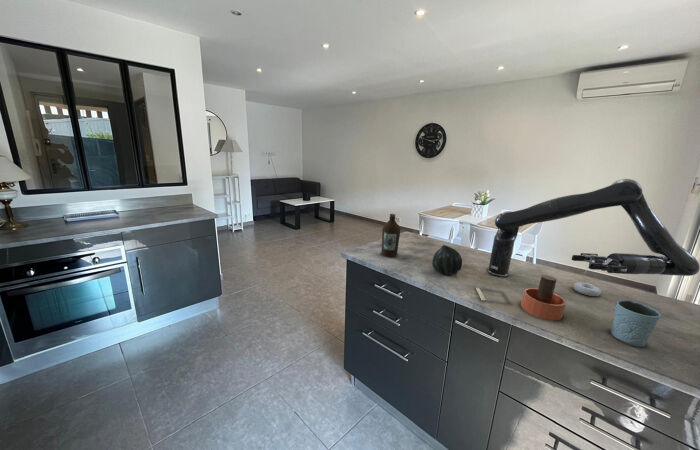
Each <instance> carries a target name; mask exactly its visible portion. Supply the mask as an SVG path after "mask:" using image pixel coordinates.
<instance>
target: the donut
mask: <svg viewBox="0 0 700 450" xmlns="http://www.w3.org/2000/svg"><path fill="white" fill-rule="evenodd" d="M572 288H573V290H574V291H575V292H577V293H579V294H582V295H584V296H589V297H598V296H600V295H602V290H601V288H600V287H598V286H597V285H594V284H591V283H588V282H584V281H576V282H574V283H573V284H572Z"/></svg>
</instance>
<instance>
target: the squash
mask: <svg viewBox="0 0 700 450" xmlns="http://www.w3.org/2000/svg"><path fill="white" fill-rule="evenodd" d="M431 262H432V264H431V265H432V267H433V269H434V270H435V271H437V272H439V274H441V275H443V274H445V275H446V276H449V275H450V276H451V275H452V274H457V273H458V272H460V271H461V269H462V266H463V258H462V256H461V254H460V252H458V250H457V249H455V248H453V247H451V246H448V245H445V244H443V245H441V246H440V247H439V249H437V251H435V253H434V254H433V257H432V260H431Z"/></svg>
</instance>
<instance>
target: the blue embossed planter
mask: <svg viewBox="0 0 700 450" xmlns="http://www.w3.org/2000/svg"><path fill="white" fill-rule="evenodd" d="M661 316H662V313H661V312H660V311H659V310H657V309H655V308H653V307H652V306H649V305H647V304H644V303H641V302H637V301H634V300H629V299H619V300H617V301H616V305H615V309H614V317H613V318H612V325H611V327H610V333H611V335H612V336H614V337H615V338H616V339H618V340H620V341H622V342H624V343H627V344H629V345H630V346H633V347H637V348H643V347H645V346H646V345H647V343H648V341H649V339H650V337H651V334H652V333H653V331H654V329H655V327H656V325H657V323H658V322H659V320H660V318H661Z"/></svg>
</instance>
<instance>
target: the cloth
mask: <svg viewBox="0 0 700 450" xmlns="http://www.w3.org/2000/svg"><path fill="white" fill-rule="evenodd" d="M475 290H476V292H477V294H478V296H479V298H480V299H481V301H483V302H487V299H486V298H485V296H484V294H483V292H482V290H481V288H479V287H476V288H475Z"/></svg>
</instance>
